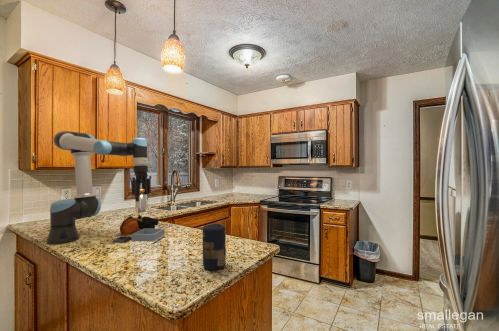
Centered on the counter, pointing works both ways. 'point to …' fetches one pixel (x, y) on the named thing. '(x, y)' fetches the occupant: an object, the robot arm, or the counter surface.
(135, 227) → the tool
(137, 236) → the bin
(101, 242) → the counter surface
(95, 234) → the counter surface
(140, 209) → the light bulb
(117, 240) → the collar plate
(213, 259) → the canister
